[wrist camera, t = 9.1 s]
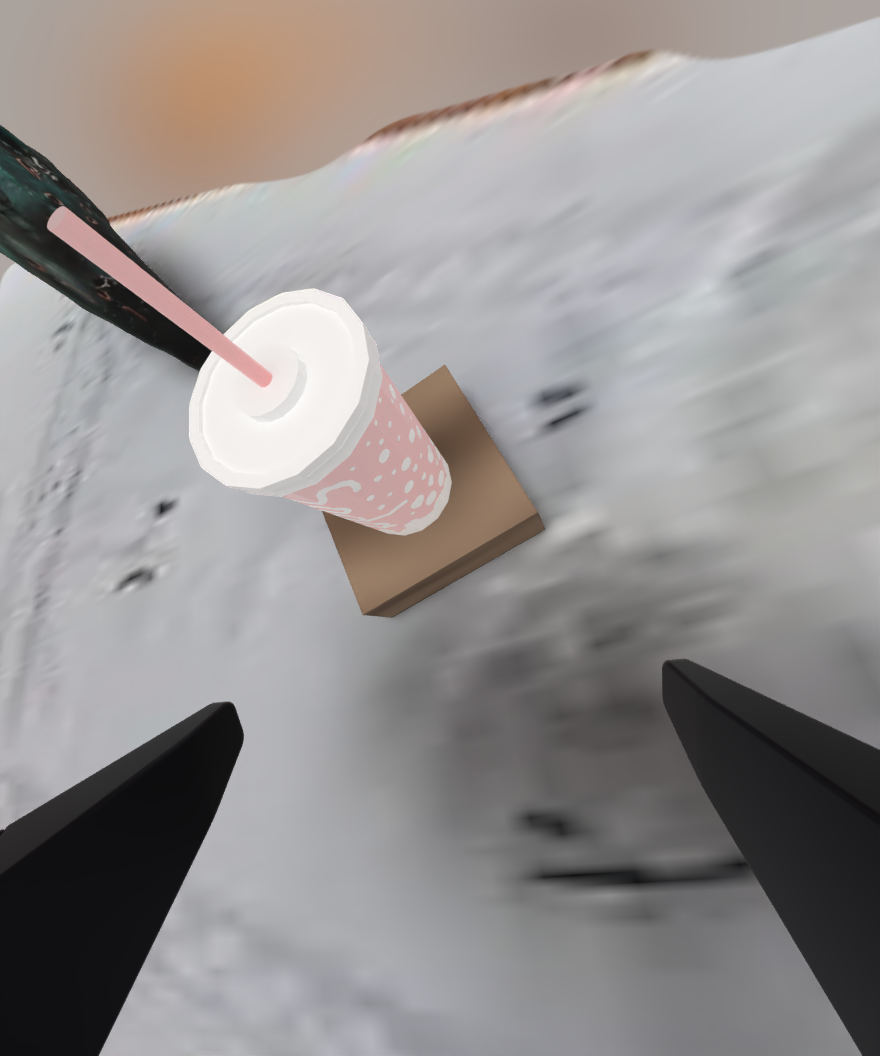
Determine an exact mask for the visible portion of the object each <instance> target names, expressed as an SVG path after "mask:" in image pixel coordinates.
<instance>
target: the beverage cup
mask: <svg viewBox="0 0 880 1056" xmlns="http://www.w3.org/2000/svg"><path fill="white" fill-rule="evenodd" d="M47 228H48V230H50V231H51V232H52V233H54V234H55V235H56V236H58V237H59V238H60V239H62V240H63V241H65V242H66V243H67V244H69V245H70V246H71V247H73V248H74V249H75V250H77V251H78V252H79V253H81V254H82V255H83V256H85V257H86V258H87V259H89V260H90V261H92V262H93V263H94V264H96V265H97V266H98V267H100V268H101V269H102V270H104V271H105V272H106V273H108V274H109V275H110V276H112V277H113V278H114V279H116V280H117V281H118V282H120V283H121V284H123V285H124V286H125V287H127V288H128V289H129V290H131V291H132V292H133V293H135V294H136V295H137V296H139V297H140V298H141V299H143V300H144V301H145V302H147V303H148V304H149V305H151V306H152V307H154V308H155V309H156V310H158V311H159V312H160V313H162V314H163V315H164V316H166V317H167V318H168V319H170V320H171V321H172V322H174V323H175V324H176V325H178V326H179V327H180V328H182V329H183V330H185V331H186V332H187V333H189V334H190V335H191V336H193V337H194V338H195V339H197V340H198V341H199V342H201V343H202V344H203V345H205V346H206V347H207V348H209V349H210V350H211V351H212V352H211V353H210V355H209V357H208V358H207V360H206V361H205V363H204V364H203V366H202V368H201V369H200V372H199V375H198V379H197V382H196V385H195V388H194V391H193V394H192V397H191V401H190V404H189V440H190V442H191V445H192V447H193V449H194V452H195V454H196V456H197V459H198V461H199V463H200V466H201V468H203V469H204V470H205V471H207V472H208V473H209V474H211V475H212V476H213V477H215V478H216V479H217V480H219V481H220V482H221V483H223V484H224V485H225V486H228V487H230V488H233V489H239V490H244V491H245V492H247V493H248V494H256V495H266V496H277V497H285V498H288V499H290V500H293V501H296V502H299V503H302V504H305V505H308V506H310V507H313V508H316V509H319V510H322V511H325V512H328V513H330V514H333V515H336V516H339V517H342V518H345V519H348V520H351V521H353V522H356V523H359V524H362V525H365V526H368V527H371V528H373V529H376V530H379V531H382V532H385V533H388V534H396V535H404V536H405V535H408V534H412V533H415V532H418V531H422V530H423V529H425V528H426V527H427V526H429V525H430V524H431V523H432V522H434V521H435V520H436V519H437V518H438V517H439V516H440V514H441V512H442V511H443V509H444V507H445V506H446V504H447V502H448V500H449V495H450V489H451V484H452V481H451V477H450V472H449V467H448V464H447V463H446V461H445V460H444V458H443V457H442V455H441V454H440V452H439V451H438V449H437V448H436V446H435V445H434V443H433V442H432V440H431V439H430V437H429V436H428V434H427V433H426V431H425V430H424V428H423V427H422V425H421V424H420V422H419V421H418V420H417V418H416V417H415V415H414V414H413V412H412V411H411V409H410V408H409V406H408V405H407V403H406V402H405V400H404V399H403V397H402V396H401V394H400V393H399V391H398V390H397V388H396V387H395V385H394V384H393V382H392V381H391V379H390V378H389V376H388V375H387V373H386V372H385V370H384V369H383V367H382V366H381V364H380V360H379V354H378V349H377V343H376V342H375V340H374V339H373V338H372V337H371V335H370V334H369V332H368V329H367V328H366V326H365V325H364V324H363V322H362V321H361V320H360V319H359V317H358V316H357V315H356V314H355V312H354V311H353V310H352V309H351V308H350V306H349V305H348V304H347V303H346V301H345V300H344V299H343V298H341V297H338V296H335V295H332V294H329V293H326V292H323V291H320V290H318V289H315V288H313V289H306V290H299V291H292V292H284V293H280V294H278V295H276V296H275V297H273V298H271V299H269V300H267V301H265V302H263V303H261V304H259V305H257V306H256V307H254V308H252V309H250V310H249V311H247V312H246V313H245V314H244V315H243V316H242V317H241V318H240V319H239V320H238V321H237V322H236V323H235V324H234V325H233V326H232V327H231V328H230V329H228V330H227V331H226V332H225V333H224V334H222V333H221V332H220V331H218V330H217V329H216V328H215V327H213V326H212V325H211V324H210V323H208V322H207V321H206V320H205V319H203V318H202V317H201V316H200V315H198V314H197V313H196V312H195V311H194V310H192V309H191V308H190V307H189V306H187V305H186V304H185V303H184V302H182V301H181V300H180V299H179V298H177V297H176V296H175V295H174V294H173V293H171V292H170V291H169V290H168V289H166V288H165V287H164V286H163V285H161V284H160V283H159V282H158V281H156V280H155V279H154V278H153V277H151V276H150V275H149V274H148V273H147V272H145V271H144V270H143V269H142V268H140V267H139V266H138V265H137V264H135V263H134V262H133V261H132V260H130V259H129V258H128V257H127V256H126V255H124V254H123V253H122V252H121V251H119V250H118V249H117V248H116V247H114V246H113V245H112V244H111V243H109V242H108V241H107V240H106V239H104V238H103V237H102V236H101V235H100V234H98V233H97V232H96V231H95V230H93V229H92V228H91V227H90V226H88V225H87V224H86V223H85V222H83V221H82V220H81V219H80V218H78V217H77V216H76V215H75V214H74V213H72V212H71V211H70V210H69V209H67V208H66V207H64V206H62V207H59V208H58V209H56V210H55V212H54V213H53V214H52V215H51V217H50V218H49V221H48V224H47Z"/></svg>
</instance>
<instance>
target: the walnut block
mask: <svg viewBox="0 0 880 1056" xmlns="http://www.w3.org/2000/svg"><path fill="white" fill-rule="evenodd" d="M401 396H402V397H403V399H404V400H405V402H406V403H407V405H408V406H409V408H410V409H411V411H412V412H413V414H414V415H415V417H416V418H417V420H418V421H419V422H420V424H421V425H422V427H423V428H424V430H425V431H426V433H427V434H428V436H429V437H430V439H431V440H432V442H433V443H434V445H435V446H436V448H437V449H438V451H439V452H440V454H441V455H442V457H443V458H444V460H445V461H446V463H447V464H448V467H449V472H450V477H451V481H452V484H451V489H450V495H449V500H448V502H447V504H446V506H445V507H444V509H443V511H442V512H441V514H440V516H439V517H438V518H437V519H436V520H435V521H434V522H432V523H431V524H430V525H429V526H427V527H426V528H425V529H423V530H422V531H418V532H415V533H412V534H408V535H405V536H404V535H396V534H388V533H385V532H382V531H379V530H376V529H373V528H371V527H368V526H365V525H362V524H359V523H356V522H353V521H351V520H348V519H345V518H342V517H339V516H336V515H333V514H330V513H328V512H325V511H322V512H323V515H324V517H325V520H326V522H327V525H328V527H329V530H330V532H331V535H332V538H333V540H334V543H335V545H336V548H337V550H338V553H339V555H340V558H341V561H342V563H343V566H344V568H345V571H346V573H347V576H348V578H349V581H350V584H351V586H352V589H353V591H354V594H355V596H356V599H357V602H358V604H359V607H360V609H361V612H362V614H363V615H369V616H381V617H394V616H396V615H397V614H399V613H401V612H402V611H404V610H406V609H408V608H409V607H411V606H413V605H415V604H416V603H418V602H420V601H422V600H423V599H425V598H427V597H429V596H430V595H432V594H434V593H435V592H437V591H439V590H441V589H442V588H444V587H446V586H448V585H449V584H451V583H453V582H455V581H456V580H458V579H460V578H462V577H463V576H465V575H467V574H468V573H470V572H472V571H474V570H475V569H477V568H479V567H481V566H482V565H484V564H486V563H488V562H489V561H491V560H493V559H494V558H496V557H498V556H500V555H501V554H503V553H505V552H507V551H508V550H510V549H512V548H514V547H515V546H517V545H519V544H521V543H522V542H524V541H526V540H527V539H529V538H531V537H533V536H534V535H536V534H538V533H540V532H541V531H543V530H545V527H544V525H543V523H542V521H541V519H540V516H539V514H538V512H537V511H536V509H535V507H534V506H533V504H532V503H531V501H530V499H529V498H528V496H527V495H526V493H525V491H524V490H523V488H522V487H521V485H520V483H519V482H518V480H517V479H516V477H515V475H514V474H513V472H512V471H511V469H510V468H509V466H508V464H507V463H506V461H505V460H504V458H503V456H502V455H501V453H500V452H499V450H498V448H497V447H496V445H495V444H494V442H493V440H492V439H491V437H490V436H489V434H488V432H487V431H486V429H485V428H484V426H483V424H482V423H481V421H480V420H479V418H478V416H477V415H476V413H475V412H474V410H473V409H472V407H471V405H470V404H469V402H468V401H467V399H466V397H465V396H464V394H463V393H462V391H461V389H460V388H459V386H458V385H457V383H456V381H455V380H454V378H453V377H452V375H451V373H450V372H449V370H448V369H447V367H446V365H444V366H442V367H441V368H439V369H438V370H437V371H435V372H434V373H432V374H431V375H429V376H428V377H426V378H425V379H424V380H422V381H421V382H419V383H418V384H416V385H415V386H413V387H412V388H410V389H409V390H408V391H406V392H405V393H403V394H402V395H401Z"/></svg>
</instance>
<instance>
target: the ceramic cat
mask: <svg viewBox="0 0 880 1056" xmlns="http://www.w3.org/2000/svg"><path fill="white" fill-rule="evenodd" d="M62 206H64V207H66V208H67V209H69V210H70V211H71V212H72V213H74V214H75V215H76V216H77V217H78V218H80V219H81V220H82V221H83V222H85V223H86V224H87V225H88V226H90V227H91V228H92V229H93V230H95V231H96V232H97V233H98V234H100V235H101V236H102V237H103V238H104V239H106V240H107V241H108V242H109V243H111V244H112V245H113V246H114V247H116V248H117V249H118V250H119V251H121V252H122V253H123V254H124V255H126V256H127V257H128V258H129V259H130V260H132V261H133V262H134V263H135V264H137V265H138V266H139V267H140V268H142V269H143V270H144V271H145V272H147V273H148V274H149V275H150V276H151V277H153V278H154V279H155V280H156V281H158V282H159V283H160V284H161V285H163V286H164V287H165V288H166V289H168V290H169V291H170V292H171V293H173V294H174V295H175V296H176V297H177V298H179V297H178V296H177V295H176V294H175V293H174V292H173V291H172V290H171V289H170V288H169V287H168V286H167V285H166V284H165V283H164V282H163V281H162V280H161V279H160V278H159V277H158V276H157V275H156V274H155V273H154V272H153V271H152V270H151V269H150V268H148V266H147V265H146V264H145V263H144V262H143V261H142V260H141V259H140V258H139V257H138V256H137V255H136V253H135V252H134V251H133V250H132V249H131V248H130V247H129V246H128V245H127V244H126V243H125V242H124V241H123V240H122V239H121V237H120V236H119V235H118V234H117V233H116V232H115V231H114V230H113V229H112V227H111V226H110V223H109V221H108V219H107V218H106V217H105V215H104V214H103V213H102V212H101V211H100V210H99V209H98V208H97V207H96V206H95V205H94V203H93V202H92V201H91V200H90V199H89V198H88V197H87V196H86V195H85V194H84V193H83V192H82V191H81V190H80V189H79V188H78V187H77V186H75V185H74V184H73V183H72V182H71V181H70V180H69V179H68V178H66V177H65V176H64V175H63V174H62V173H61V172H60V171H59V170H58V169H57V168H56V167H55V166H54V165H53V163H51V162H50V161H49V160H48V159H47V158H46V157H44V156H43V155H41V154H40V153H39V152H37V151H36V150H34V149H33V148H31V147H29V146H27V145H25V144H24V143H23V142H22V141H20V140H19V139H18V138H17V137H15V136H14V135H13V134H12V133H10V132H9V131H8V130H7V129H5V128H4V127H2V126H1V125H0V253H2V254H4V255H5V256H7V257H8V258H10V259H11V260H13V261H14V262H16V263H17V264H19V265H20V266H21V267H23V268H24V269H25V270H27V271H28V272H30V273H31V274H33V275H35V276H36V277H38V278H39V279H41V280H42V281H44V282H45V283H47V284H48V285H50V286H52V287H53V288H55V289H56V290H58V291H59V292H61V293H62V294H64V295H65V296H67V297H68V298H69V299H71V300H72V301H74V302H75V303H76V304H78V305H79V306H80V307H82V308H83V309H85V310H87V311H89V312H90V313H92V314H94V315H96V316H98V317H100V318H102V319H104V320H106V321H108V322H110V323H112V324H114V325H115V326H117V327H119V328H120V329H122V330H124V331H125V332H127V333H129V334H131V335H133V336H135V337H136V338H138V339H140V340H142V341H143V342H145V343H147V344H149V345H151V346H153V347H155V348H158V349H160V350H162V351H164V352H167V353H168V354H170V355H172V356H174V357H176V358H177V359H179V360H180V361H182V362H183V363H185V364H186V365H188V366H190V367H192V368H194V369H196V370H198V371H200V369H201V368H202V366H203V364H204V363H205V361H206V360H207V358H208V357H209V355H210V353H211V352H212V351H211V350H210V349H209V348H207V347H206V346H205V345H203V344H202V343H201V342H199V341H198V340H197V339H195V338H194V337H193V336H191V335H190V334H189V333H187V332H186V331H185V330H183V329H182V328H180V327H179V326H178V325H176V324H175V323H174V322H172V321H171V320H170V319H168V318H167V317H166V316H164V315H163V314H162V313H160V312H159V311H158V310H156V309H155V308H154V307H152V306H151V305H149V304H148V303H147V302H145V301H144V300H143V299H141V298H140V297H139V296H137V295H136V294H135V293H133V292H132V291H131V290H129V289H128V288H127V287H125V286H124V285H123V284H121V283H120V282H118V281H117V280H116V279H114V278H113V277H112V276H110V275H109V274H108V273H106V272H105V271H104V270H102V269H101V268H100V267H98V266H97V265H96V264H94V263H93V262H92V261H90V260H89V259H87V258H86V257H85V256H83V255H82V254H81V253H79V252H78V251H77V250H75V249H74V248H73V247H71V246H70V245H69V244H67V243H66V242H65V241H63V240H62V239H60V238H59V237H58V236H56V235H55V234H54V233H52V232H51V231H50V230H48V228H47V224H48V221H49V218H50V217H51V215H52V214H53V213H54V212H55V210H56V209H58V208H59V207H62ZM179 299H180V298H179ZM180 300H181V299H180ZM181 301H182V300H181ZM182 302H183V301H182Z"/></svg>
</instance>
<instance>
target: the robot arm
mask: <svg viewBox="0 0 880 1056" xmlns="http://www.w3.org/2000/svg"><path fill="white" fill-rule="evenodd" d="M662 695H663V702H664V706H665V708H666V711H667V713H668V715H669V717H670V719H671V721H672V724H673V726H674V728H675V730H676V732H677V734H678V736H679V739H680V741H681V743H682V745H683V747H684V749H685V751H686V753H687V756H688V758H689V760H690V762H691V764H692V766H693V768H694V771H695V773H696V775H697V777H698V779H699V781H700V783H701V785H702V787H703V788H704V790H705V792H706V794H707V796H708V797H709V799H710V801H711V802H712V804H713V806H714V808H715V809H716V811H717V813H718V814H719V816H720V818H721V819H722V821H723V823H724V824H725V826H726V828H727V829H728V831H729V833H730V834H731V836H732V838H733V839H734V841H735V843H736V844H737V846H738V848H739V849H740V851H741V853H742V854H743V856H744V858H745V859H746V861H747V863H748V865H749V866H750V868H751V870H752V871H753V873H754V875H755V876H756V878H757V880H758V881H759V883H760V885H761V886H762V888H763V890H764V891H765V893H766V895H767V896H768V898H769V900H770V901H771V903H772V905H773V906H774V908H775V910H776V911H777V913H778V915H779V916H780V918H781V920H782V922H783V923H784V925H785V927H786V928H787V930H788V932H789V933H790V935H791V937H792V938H793V940H794V942H795V943H796V945H797V947H798V948H799V950H800V952H801V953H802V955H803V957H804V958H805V960H806V962H807V963H808V965H809V967H810V968H811V970H812V972H813V973H814V975H815V977H816V979H817V980H818V982H819V984H820V985H821V987H822V989H823V990H824V992H825V994H826V995H827V997H828V999H829V1000H830V1002H831V1004H832V1005H833V1007H834V1009H835V1010H836V1012H837V1014H838V1015H839V1017H840V1019H841V1020H842V1022H843V1024H844V1025H845V1027H846V1029H847V1030H848V1032H849V1034H850V1036H851V1037H852V1039H853V1041H854V1042H855V1044H856V1046H857V1047H858V1049H859V1051H860V1052H861V1054H862V1056H880V750H879V749H877V748H875V747H873V746H871V745H868V744H866V743H864V742H862V741H860V740H858V739H856V738H854V737H851V736H849V735H847V734H845V733H843V732H841V731H839V730H837V729H834V728H832V727H830V726H828V725H826V724H824V723H822V722H820V721H817V720H815V719H813V718H811V717H809V716H807V715H805V714H803V713H800V712H798V711H796V710H794V709H792V708H790V707H788V706H786V705H783V704H781V703H779V702H777V701H775V700H773V699H771V698H769V697H766V696H764V695H762V694H760V693H758V692H756V691H754V690H752V689H749V688H747V687H745V686H743V685H741V684H739V683H737V682H735V681H732V680H730V679H728V678H726V677H724V676H722V675H720V674H718V673H715V672H713V671H711V670H709V669H707V668H705V667H703V666H701V665H698V664H696V663H694V662H692V661H690V660H687V659H676V660H667V661H665V662H664V663H663V667H662ZM243 740H244V733H243V729H242V726H241V723H240V720H239V717H238V714H237V711H236V708H235V706H234V704H233V703H231V702H218V703H212V704H210V705H208V706H206V707H205V708H203V709H201V710H200V711H198V712H196V713H195V714H193V715H191V716H190V717H188V718H186V719H185V720H183V721H181V722H180V723H178V724H176V725H175V726H173V727H171V728H170V729H168V730H166V731H165V732H163V733H161V734H160V735H158V736H156V737H155V738H153V739H151V740H150V741H148V742H146V743H145V744H143V745H141V746H140V747H138V748H136V749H135V750H133V751H131V752H130V753H128V754H126V755H125V756H123V757H121V758H120V759H118V760H116V761H115V762H113V763H111V764H110V765H108V766H106V767H105V768H103V769H101V770H100V771H98V772H96V773H95V774H93V775H91V776H90V777H88V778H86V779H85V780H83V781H81V782H80V783H78V784H76V785H75V786H73V787H71V788H70V789H68V790H66V791H65V792H63V793H61V794H60V795H58V796H56V797H55V798H53V799H52V800H50V801H48V802H47V803H45V804H43V805H42V806H40V807H38V808H37V809H35V810H33V811H32V812H30V813H28V814H27V815H25V816H23V817H22V818H20V819H18V820H17V821H15V822H13V823H12V824H10V825H8V826H7V827H6V829H5V830H0V1056H99V1054H100V1052H101V1050H102V1048H103V1046H104V1044H105V1042H106V1040H107V1038H108V1036H109V1034H110V1031H111V1029H112V1027H113V1025H114V1023H115V1021H116V1019H117V1017H118V1015H119V1013H120V1011H121V1009H122V1007H123V1005H124V1003H125V1001H126V999H127V997H128V994H129V992H130V990H131V988H132V986H133V984H134V982H135V980H136V978H137V976H138V974H139V972H140V970H141V968H142V966H143V964H144V962H145V960H146V957H147V955H148V953H149V951H150V949H151V947H152V945H153V943H154V941H155V939H156V937H157V935H158V933H159V931H160V929H161V927H162V925H163V923H164V920H165V918H166V916H167V914H168V912H169V910H170V908H171V906H172V904H173V902H174V900H175V898H176V896H177V894H178V892H179V890H180V888H181V886H182V883H183V881H184V879H185V877H186V875H187V873H188V871H189V869H190V867H191V865H192V863H193V861H194V859H195V857H196V855H197V853H198V851H199V849H200V846H201V844H202V842H203V840H204V838H205V836H206V834H207V832H208V830H209V828H210V826H211V823H212V821H213V819H214V817H215V814H216V812H217V809H218V807H219V805H220V802H221V799H222V797H223V794H224V792H225V789H226V786H227V784H228V781H229V779H230V776H231V773H232V771H233V768H234V766H235V763H236V761H237V758H238V755H239V753H240V750H241V748H242V745H243Z"/></svg>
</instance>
